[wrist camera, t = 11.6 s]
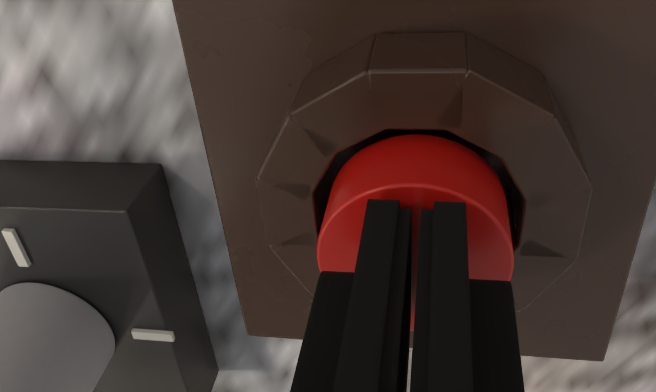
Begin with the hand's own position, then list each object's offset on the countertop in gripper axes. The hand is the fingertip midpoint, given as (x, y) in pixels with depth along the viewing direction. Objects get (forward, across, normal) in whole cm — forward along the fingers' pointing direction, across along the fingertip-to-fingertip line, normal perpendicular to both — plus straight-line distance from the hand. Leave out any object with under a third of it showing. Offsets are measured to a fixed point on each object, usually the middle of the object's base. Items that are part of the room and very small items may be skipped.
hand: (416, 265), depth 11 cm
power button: (+2, 0, 0) cm, 2 cm away
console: (+6, +12, +7) cm, 16 cm away
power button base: (+6, 0, 0) cm, 7 cm away
